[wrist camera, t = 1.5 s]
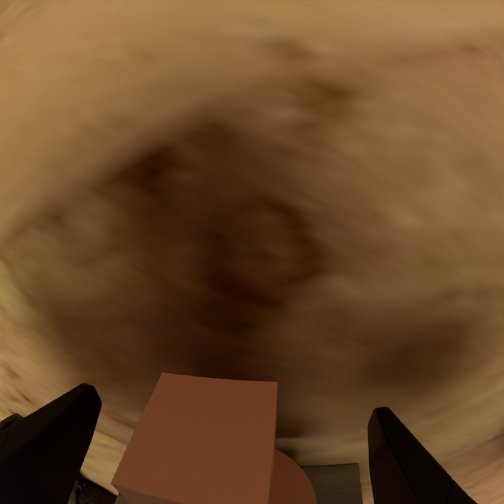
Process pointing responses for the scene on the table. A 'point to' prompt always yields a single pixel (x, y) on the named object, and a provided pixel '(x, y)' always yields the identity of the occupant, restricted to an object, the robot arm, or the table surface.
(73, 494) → the metal pipe
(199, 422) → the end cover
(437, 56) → the table surface
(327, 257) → the table surface
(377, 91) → the table surface
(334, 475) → the housing
